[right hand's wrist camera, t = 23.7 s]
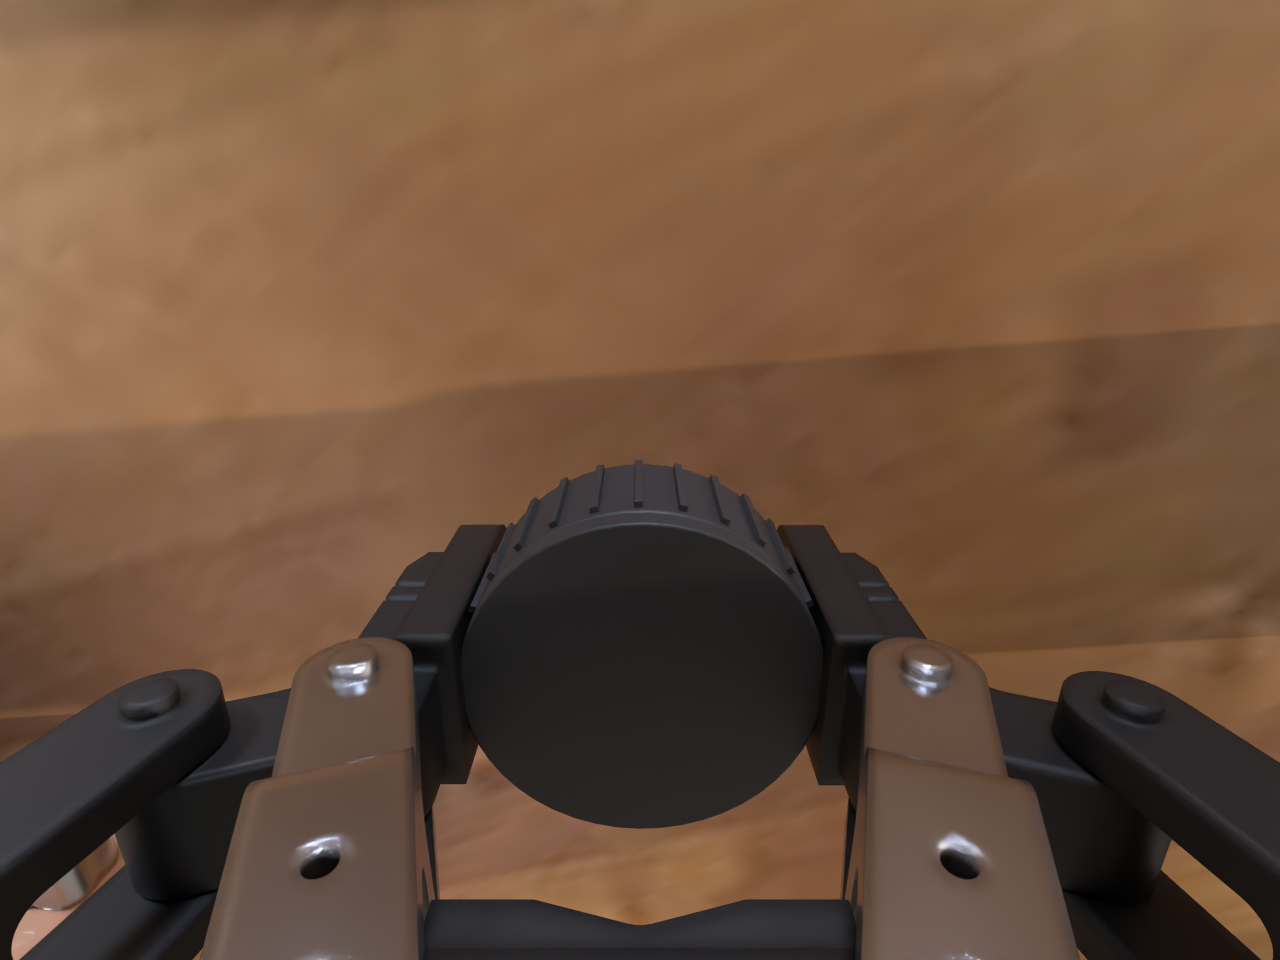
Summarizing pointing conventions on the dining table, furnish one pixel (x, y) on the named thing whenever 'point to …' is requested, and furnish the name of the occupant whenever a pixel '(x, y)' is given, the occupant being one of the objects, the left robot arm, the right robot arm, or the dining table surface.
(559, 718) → the lid
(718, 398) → the dining table surface
